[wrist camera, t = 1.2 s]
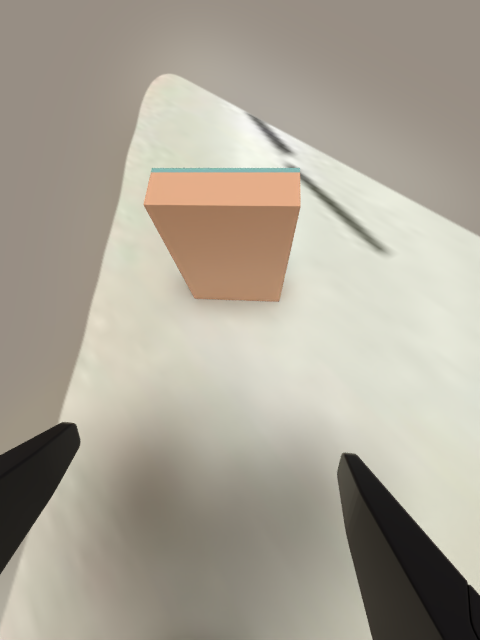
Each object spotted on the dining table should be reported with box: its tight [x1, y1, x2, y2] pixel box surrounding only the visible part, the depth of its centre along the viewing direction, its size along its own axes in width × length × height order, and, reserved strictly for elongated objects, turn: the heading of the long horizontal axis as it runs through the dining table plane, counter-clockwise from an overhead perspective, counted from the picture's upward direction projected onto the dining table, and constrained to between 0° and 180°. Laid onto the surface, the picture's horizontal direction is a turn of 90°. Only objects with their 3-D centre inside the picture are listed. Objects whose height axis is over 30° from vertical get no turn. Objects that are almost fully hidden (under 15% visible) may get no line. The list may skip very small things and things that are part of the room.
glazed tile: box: [144, 168, 300, 302], centre depth 19 cm, size 2×8×12 cm, turn 86°
